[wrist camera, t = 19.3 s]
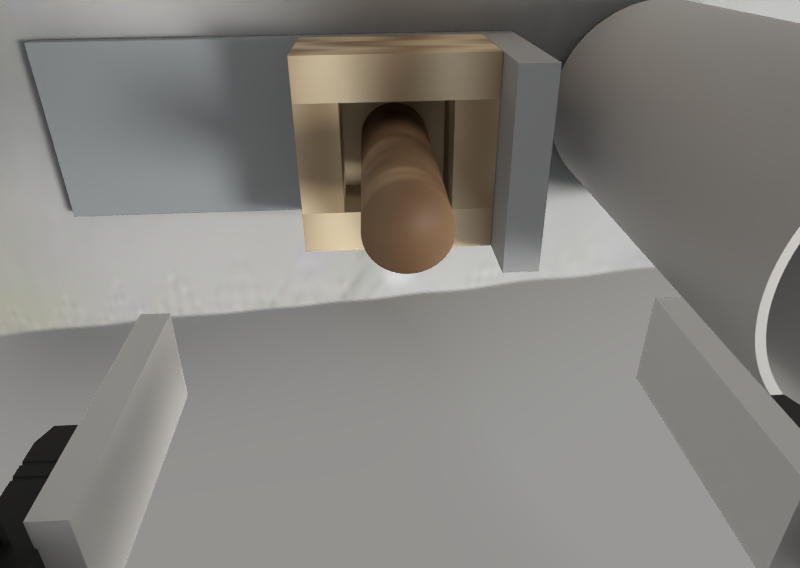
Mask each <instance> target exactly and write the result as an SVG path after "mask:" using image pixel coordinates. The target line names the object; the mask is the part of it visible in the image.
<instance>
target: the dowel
mask: <svg viewBox="0 0 800 568" xmlns="http://www.w3.org/2000/svg"><path fill="white" fill-rule="evenodd" d="M455 235H456V223H455V218H454V215H453V212H452V209H451V205H450V202H449V199H448V196H447V193H446V190H445V186H444V183H443V180H442V177H441V174H440V171H439V167H438V164H437V161H436V158H435V155H434V152H433V148H432V145H431V142H430V139H429V136H428V133H427V129H426V126H425V123H424V121H423V119H422V117H421V116H420V114H419V113H418V112H417V111H416V110H414V109H413V108H412V107H410V106H408V105H405V104H402V103H387V104H383V105H381V106H379V107H377V108H376V109H374V110H373V111H372V112H371V113H370V114H369V115H368V116H367V118H366V120H365V122H364V124H363V127H362V136H361V240H362V244H363V246H364V249H365V250H366V252H367V254H368V255H369V256H370V258H371V259H372V260H373V261H374V262H375V263H377V264H378V265H379V266H381V267H383V268H384V269H387V270H389V271H392V272H396V273H402V274H411V273H418V272H422V271H425V270H427V269H430V268H432V267H433V266H435V265H437V264H438V263H439V262H440V261H442V260H443V259H444V258H445V256H446V255H447V254H448V253H449V251H450V249H451V248H452V245H453V243H454V240H455Z"/></svg>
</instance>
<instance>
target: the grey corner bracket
mask: <svg viewBox="0 0 800 568" xmlns="http://www.w3.org/2000/svg"><path fill="white" fill-rule="evenodd" d="M443 34H483V35H484V36H485V37H487V38H488V39H489V40H490V41H491V42H493V43H494V44H495V45H496V46H498V47H499V48H500V49H501V50H503V51H504V53H503V68H502V83H501V98H500V113H499V128H498V143H497V157H496V172H495V187H494V202H493V217H492V232H491V246H492V249H493V251H494V253H495V256H496V258H497V260H498V263H499V265H500V268H501V270H502V272H503V273H504V272H531V271H539V262H540V253H541V245H542V236H543V227H544V218H545V209H546V200H547V191H548V182H549V173H550V164H551V155H552V146H553V137H554V128H555V119H556V110H557V101H558V92H559V83H560V74H561V65H562V62H560V61H558V60H557V59H555V58H554V57H552V56H551V55H549V54H547V53H546V52H544V51H543V50H541V49H540V48H538V47H536V46H535V45H533V44H532V43H530V42H529V41H527V40H525V39H524V38H522V37H521V36H519V35H518V34H516V33H514V32H513V31H472V32H422V33H371V34H320V35H270V36H219V37H169V38H118V39H67V40H31V41H28V42H25V43H24V45H25V48H26V52H27V55H28V58H29V62H30V65H31V69H32V72H33V76H34V79H35V82H36V86H37V89H38V93H39V96H40V100H41V103H42V107H43V110H44V113H45V117H46V120H47V124H48V127H49V131H50V134H51V137H52V141H53V144H54V148H55V151H56V155H57V158H58V162H59V165H60V168H61V172H62V175H63V179H64V182H65V186H66V189H67V192H68V196H69V199H70V203H71V206H72V210H73V213H74V217H78V216H109V215H141V214H172V213H204V212H235V211H267V210H298V209H302V205H301V194H300V184H299V173H298V163H297V152H296V142H295V132H294V121H293V111H292V100H291V90H290V79H289V69H288V58H287V56H288V54H289V52H290V51H291V49H292V47H293V46H294V44H295V42H296V41H297V39H298V37H343V36H393V35H443Z"/></svg>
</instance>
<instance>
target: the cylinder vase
mask: <svg viewBox="0 0 800 568" xmlns="http://www.w3.org/2000/svg"><path fill="white" fill-rule="evenodd" d="M553 139H554V142H555V146H556V148H557V151H558V153H559V155H560V157H561V159H562V160H563V162H564V163H565V165H566V166H567V168H568V169H569V170H570V171H571V172H572V173H573V174H574V176H575V177H576V178H577V179H578V180H579V181H580V182H581V183H582V185H583V186H584V187H585V188H586V189H587V190H588V191H589V192H590V194H591V195H592V196H593V197H594V198H595V199H596V200H597V201H598V203H599V204H600V205H601V206H602V207H603V208H604V209H605V210H606V212H607V213H608V214H609V215H610V216H611V217H612V218H613V219H614V221H615V222H616V223H617V224H618V225H619V226H620V227H621V228H622V230H623V231H624V232H625V233H626V234H627V235H628V236H629V237H630V239H631V240H632V241H633V242H634V243H635V244H636V245H637V246H638V248H639V249H640V250H641V251H642V252H643V253H644V254H645V255H646V257H647V258H648V259H649V260H650V261H651V262H652V263H653V264H654V266H655V267H656V268H657V269H658V270H659V271H660V272H661V273H662V275H663V276H664V277H665V278H666V279H667V280H668V281H669V282H670V284H672V286H673V287H674V288H675V289H676V290H677V291H678V293H679V294H680V295H681V296H682V297H683V298H684V299H685V300H686V302H687V303H688V304H689V305H690V306H691V307H692V308H693V309H694V311H695V312H696V313H697V314H698V315H699V316H700V317H701V318H702V320H703V321H704V322H705V323H706V324H707V325H708V326H709V327H710V329H711V330H712V331H713V332H714V333H715V334H716V335H717V336H718V338H719V339H720V340H721V341H722V342H723V343H724V344H725V345H726V347H727V348H728V349H729V350H730V351H731V352H732V353H733V354H734V355H735V357H736V358H737V359H738V360H739V361H740V362H741V363H742V364H743V366H744V367H745V368H746V369H747V370H748V371H749V372H750V373H751V374H752V376H753V377H754V378H755V379H756V380H757V381H758V382H759V383H760V385H761V386H762V387H763V388H764V389H765V390H766V391H767V392H768V393H769V395H782V394H784V395H786V396H787V397H789V398H790V399H792V400H793V401H795V402H797V403H798V404H800V23H795V22H790V21H785V20H780V19H775V18H771V17H766V16H761V15H756V14H751V13H746V12H741V11H736V10H731V9H726V8H721V7H716V6H711V5H706V4H701V3H696V2H691V1H686V0H648V1H644V2H640V3H636V4H633V5H631V6H628V7H626V8H624V9H621V10H619V11H617V12H616V13H614V14H612V15H610V16H609V17H607V18H606V19H604V20H603V21H601V22H600V23H599V24H598V25H596V26H595V27H594V28H593V29H592V30H591V31H590V32H588V33H587V34H586V35H585V37H584V38H583V39H582V40H581V41H580V42H579V43H578V45H577V46H576V47H575V48H574V50H573V51H572V53H571V54H570V56H569V57H568V59H567V60H566V62H565V64H564V66H563V68H562V70H561V74H560V83H559V92H558V101H557V110H556V119H555V128H554V137H553Z"/></svg>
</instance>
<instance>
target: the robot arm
mask: <svg viewBox="0 0 800 568" xmlns="http://www.w3.org/2000/svg"><path fill="white" fill-rule="evenodd" d="M636 378H637V379H638V381H639V383H640V384H641V386H642V387H643V389H644V390H645V392H646V394H647V395H648V397H649V398H650V400H651V402H652V403H653V405H654V406H655V408H656V409H657V411H658V413H659V414H660V416H661V417H662V419H663V421H664V422H665V424H666V425H667V427H668V429H669V430H670V432H671V433H672V435H673V437H674V438H675V440H676V441H677V443H678V444H679V446H680V447H681V449H682V451H683V452H684V454H685V455H686V457H687V459H688V460H689V462H690V464H691V465H692V466H693V468H694V470H695V471H696V473H697V475H698V476H699V477H700V479H701V481H702V483H703V484H704V486H705V487H706V489H707V490H708V492H709V494H710V495H711V497H712V498H713V500H714V502H715V503H716V505H717V506H718V508H719V510H720V511H721V513H722V514H723V516H724V518H725V519H726V521H727V522H728V524H729V526H730V527H731V529H732V530H733V531H734V533H735V535H736V537H737V538H738V540H739V541H740V543H741V545H742V546H743V547H744V549H745V551H746V553H747V554H748V556H749V557H750V559H751V560H752V562H753V564H754V565H755V567H756V568H800V404H798V403H797V402H795V401H793V400H792V399H790V398H789V397H787V396H786V395H784V394H782V395H769V393H768V392H767V391H766V390H765V389H764V388H763V387H762V386H761V385H760V383H759V382H758V381H757V380H756V379H755V378H754V377H753V376H752V374H751V373H750V372H749V371H748V370H747V369H746V368H745V367H744V366H743V364H742V363H741V362H740V361H739V360H738V359H737V358H736V357H735V355H734V354H733V353H732V352H731V351H730V350H729V349H728V348H727V347H726V345H725V344H724V343H723V342H722V341H721V340H720V339H719V338H718V336H717V335H716V334H715V333H714V332H713V331H712V330H711V329H710V328H709V326H708V325H707V324H706V323H705V322H704V321H703V320H702V319H701V317H700V316H699V315H698V314H697V313H696V312H695V311H694V310H693V308H692V307H691V306H690V305H689V304H688V303H687V302H686V301H685V300H684V298H683V297H665V298H655V300H654V305H653V309H652V313H651V318H650V322H649V326H648V330H647V334H646V339H645V343H644V347H643V352H642V356H641V360H640V364H639V369H638V373H637V377H636ZM187 396H188V394H187V389H186V385H185V380H184V375H183V371H182V366H181V362H180V357H179V352H178V348H177V343H176V339H175V334H174V329H173V325H172V320H171V315H170V314H141V315H140V316H139V318H138V320H137V322H136V323H135V325H134V327H133V329H132V331H131V332H130V334H129V336H128V338H127V339H126V341H125V343H124V345H123V346H122V348H121V350H120V352H119V354H118V356H117V357H116V359H115V361H114V362H113V364H112V366H111V368H110V369H109V371H108V373H107V375H106V377H105V378H104V380H103V382H102V384H101V385H100V387H99V389H98V391H97V392H96V394H95V396H94V398H93V400H92V401H91V403H90V405H89V406H88V409H87V410H86V412H85V414H84V415H83V417H82V419H81V421H80V422H79V424H78V425H65V426H54V427H53V428H51V429H50V430H49V431H48V432H47V433H45V434H44V435H43V436H42V437H41V438H40V439H38V440H37V441H36V442H35V443H34V444H33V446H32V448H31V449H30V451H29V452H28V454H27V455H26V457H25V459H24V460H23V463H22V466H19V468H18V469H17V471H16V473H15V474H14V476H13V480H12V481H10V482H9V484H8V486H7V487H6V488H5V490H4V492H3V493H2V495H1V496H0V568H125V566H126V563H127V560H128V557H129V555H130V552H131V549H132V546H133V544H134V541H135V538H136V536H137V533H138V530H139V527H140V525H141V522H142V519H143V516H144V514H145V511H146V508H147V505H148V503H149V500H150V497H151V494H152V492H153V489H154V486H155V483H156V481H157V478H158V475H159V473H160V470H161V467H162V464H163V462H164V459H165V456H166V453H167V451H168V448H169V445H170V442H171V440H172V437H173V434H174V431H175V429H176V426H177V423H178V421H179V418H180V415H181V412H182V410H183V407H184V404H185V401H186V399H187Z"/></svg>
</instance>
